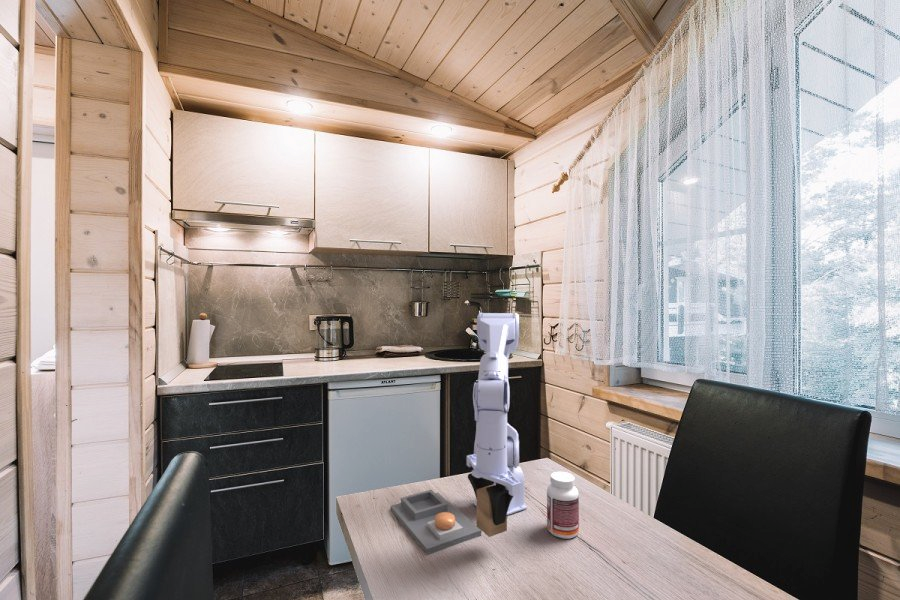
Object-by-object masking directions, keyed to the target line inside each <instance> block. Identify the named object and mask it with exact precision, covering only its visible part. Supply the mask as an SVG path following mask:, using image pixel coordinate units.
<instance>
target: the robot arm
mask: <svg viewBox="0 0 900 600" xmlns="http://www.w3.org/2000/svg"><path fill="white" fill-rule="evenodd" d="M476 335H477V340H478V345H479V348H480V350H482V351H484V352H485V353H484V354H483V355H482V356H481V357H480V361H479V367H478V368H479V369H478V377H477V382H476V381H475V382H474V383H473V388H472V389H473V390H472V403H473V409H474V421H476V422H475V424H476V425H475V427H476V429H475V430H476V431H475V438H474V439H475V440H474V445H473V454H468V455H466V466H467V467H468V468H473V469H472V470H471V473H468V475H467V479H468V481H469V482H470V483H469V484H471V487H472V489H473V492H474V495H475V499H476V500H474V501H473V503H472V504H473V505H474V506H475V507H476V508H477V489H479V488H483V487H486V486H490V485H493V484H494V485H493V486H490V487H487V488H486V490H487V492H488V495H489V498H490V501H491V506H492V517H493V522H494V524H495V525H499V524H502V523H505V519H506V515H507V516H508V515H511V514H514V513H517V512H520V511H523V510H526V509H527V508H528V506H527V505H526V504H525V499H526V497H525V495H526V494H525V491H526V490H525V486H526V485H525V475H524V472H523V470H522V468H521V467H520V440H519V433H518V431H517V430H516V428H514V427H513V426H511V424H509V422H508V412H509V409H510V397H511V395H510V394H511V393H510V392H511V391H510V383H509V358H510V355H511V353H512V352H515V351H516V350H518V346H519V337H520V315H519V313H517V312H514V313H513V312H510V313H508V312H504V313H502V312H501V313H500V312H499V313H498V312H493V313H492V312H489V313H488V312H479V313H478V315H477V318H476Z"/></svg>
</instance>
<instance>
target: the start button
mask: <svg viewBox="0 0 900 600" xmlns="http://www.w3.org/2000/svg"><path fill="white" fill-rule="evenodd" d="M454 525H455V516H454V515H453V514H452V513H448V512H442V513H439V514H437V515H436V516H435V526H436V527H438V528H440V529H450V528H452V527H453V526H454Z"/></svg>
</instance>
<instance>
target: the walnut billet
mask: <svg viewBox="0 0 900 600" xmlns="http://www.w3.org/2000/svg"><path fill="white" fill-rule="evenodd" d="M493 485H494V484H493ZM493 485H490V486H493ZM490 486H486V487H483V488H479V489H477V499H476V501H477V507H476V526H477V527H478V528H479V529H480V530H481V532H483V534H485V535H486V536H487V537H489V538H491V537H493V536H496V535H499V534H502V533H505V532H507V531H508V515H506V519H505V523H502V524H499V525H495V524H494V522H493V517H492V506H491V501H490V498H489V495H488V492H487V490H486V488H487V487H490Z"/></svg>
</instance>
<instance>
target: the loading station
mask: <svg viewBox="0 0 900 600" xmlns="http://www.w3.org/2000/svg"><path fill="white" fill-rule="evenodd" d="M389 508H390V512H391V513H392V514H393V515H394V516H395V517H396V519H397V520H398V521H399V522H400V524H401V525H402V526H403V527H404V528H405V530H406V531H407V532H408V533H409V535H410V536H411V537H412V538H413V539H414V540H415V542H416V543H417V544H418V545H419V547H420V548H421V550H423V551H424V553H425V554H426V555H430V554H432V553H436V552H438V551H441V550H443V549H446V548H449V547H452V546H455V545H459V544H462V543H463V542H466V541H469V540H472V539H474V538H477V537H480V536H482V530H480V529H479V528H478V527H477V524H475V523H474V522H473V521H472V520H471V519H469V518H468V517H467V516H466V515H464V514H463V512H461V511H460V510H459V509H458V508H457V507H456V506H454V505H453V504H452V503H451V502H450V501H448V499H446V498H445V497H444V496H443V495H442V494H441V493H439V492H436V493H435V492H434V491H433V489H429V490H426V491H421V492H417V493H414V494H411V495H407V496H404V497H403V496H402V497H400V502H398V503H396V504H393V505H392V504H391V505H390V507H389ZM442 512H448V513H452V514H453V515H454V516H455V525H454V526H453V527H452V528H450V529H440V528H438V527H436V526H435V516H436V515H437V514H439V513H442Z"/></svg>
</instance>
